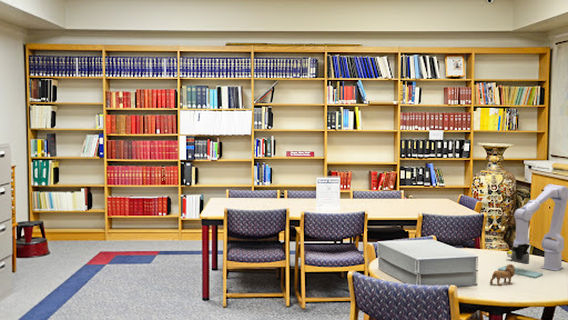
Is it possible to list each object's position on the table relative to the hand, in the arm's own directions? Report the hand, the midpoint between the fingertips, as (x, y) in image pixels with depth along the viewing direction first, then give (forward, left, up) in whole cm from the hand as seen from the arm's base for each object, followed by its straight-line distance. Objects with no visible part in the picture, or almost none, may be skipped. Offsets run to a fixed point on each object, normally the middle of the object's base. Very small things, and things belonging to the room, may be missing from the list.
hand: (520, 258), depth 276 cm
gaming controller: (-26, -12, -8) cm, 30 cm away
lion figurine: (+25, +3, -7) cm, 27 cm away
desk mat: (0, 0, -7) cm, 7 cm away
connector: (0, 0, -2) cm, 2 cm away
